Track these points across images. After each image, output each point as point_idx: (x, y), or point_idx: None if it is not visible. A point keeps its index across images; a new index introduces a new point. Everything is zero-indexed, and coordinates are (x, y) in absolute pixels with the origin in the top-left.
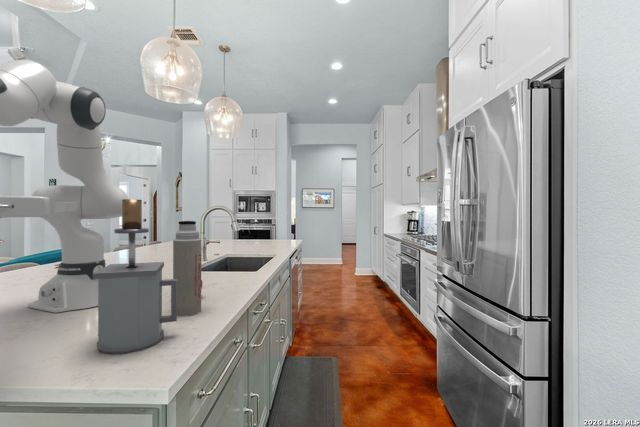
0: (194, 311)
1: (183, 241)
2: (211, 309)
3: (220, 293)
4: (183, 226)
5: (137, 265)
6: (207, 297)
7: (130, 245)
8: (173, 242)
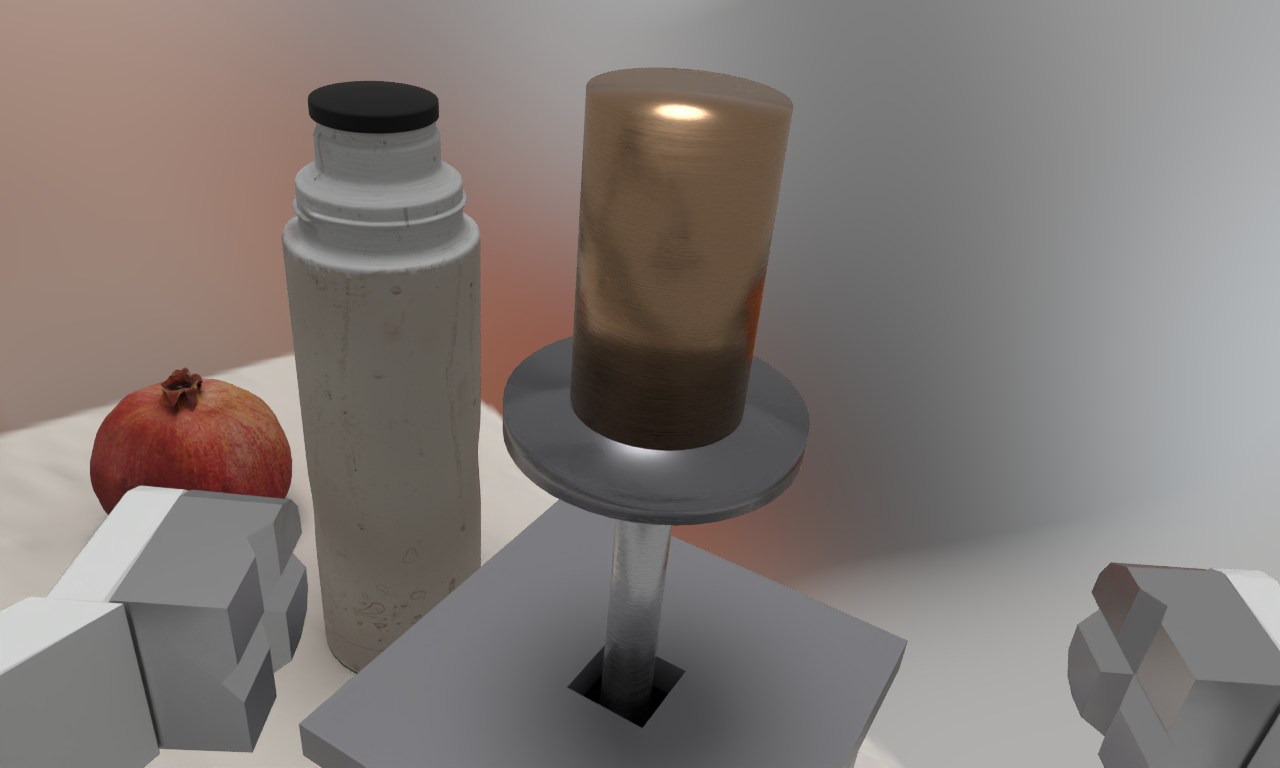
0: None
1: (442, 267)
2: (486, 551)
3: (298, 419)
4: (400, 149)
5: (577, 630)
6: None
7: (661, 544)
8: (334, 282)
